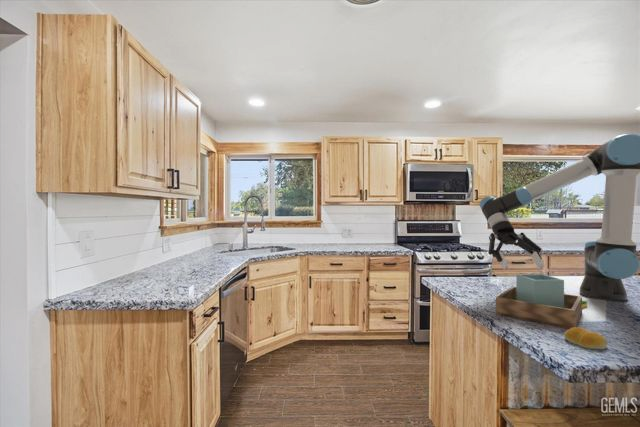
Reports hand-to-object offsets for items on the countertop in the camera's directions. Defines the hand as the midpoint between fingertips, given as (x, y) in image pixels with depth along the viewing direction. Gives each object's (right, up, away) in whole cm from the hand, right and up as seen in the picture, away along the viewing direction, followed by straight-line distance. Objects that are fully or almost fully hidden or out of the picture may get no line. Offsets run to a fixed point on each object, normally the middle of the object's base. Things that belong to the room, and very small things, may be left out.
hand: (524, 267), depth 122 cm
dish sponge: (+18, -15, +5) cm, 24 cm away
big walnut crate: (+1, -15, -7) cm, 17 cm away
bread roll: (-4, -16, -32) cm, 36 cm away
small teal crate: (+1, -14, -7) cm, 16 cm away
